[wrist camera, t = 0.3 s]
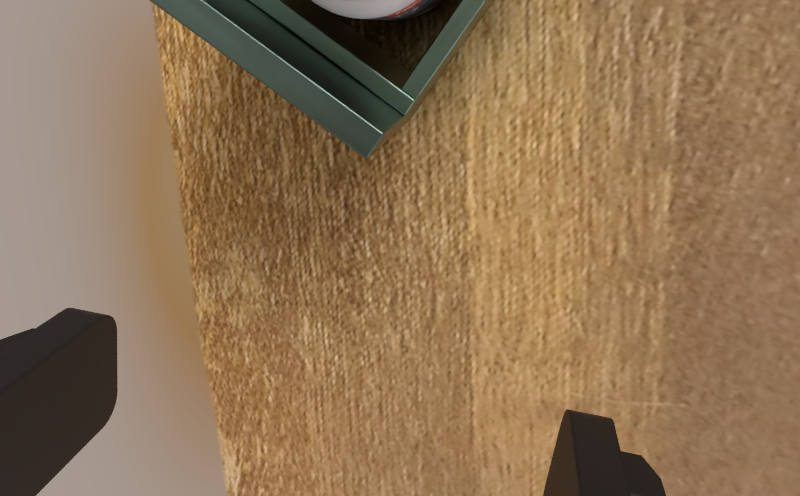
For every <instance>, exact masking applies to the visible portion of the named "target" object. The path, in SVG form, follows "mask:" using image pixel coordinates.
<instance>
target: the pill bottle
mask: <svg viewBox="0 0 800 496" xmlns="http://www.w3.org/2000/svg"><path fill="white" fill-rule="evenodd" d="M312 1H313V2H314V3H316V4H317V5H319V6H320V7H322V8H324V9H326V10H328V11H330V12H333V13H335V14H338V15H341V16H344V17H348V18H355V19H371V20H387V21H399V20H406V19H411V18H414V17H417V16H420V15H422V14H424V13H426V12H428V11H430V10H431V9H433V8H434V7H436V6H437V5H438V4H439V3H440V2H442V1H443V0H312Z"/></svg>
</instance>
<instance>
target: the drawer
mask: <svg viewBox="0 0 800 496" xmlns="http://www.w3.org/2000/svg"><path fill="white" fill-rule="evenodd" d="M150 1H152V2H153V3H154V4H156V5H157V6H158V7H160V8H161V9H162V10H164V11H165V12H167V13H168V14H169V15H171V16H172V17H173V18H175V19H176V20H177V21H179V22H180V23H182V24H183V25H184V26H186V27H187V28H188V29H190V30H191V31H192V32H194V33H195V34H197V35H198V36H199V37H201V38H202V39H203V40H205V41H206V42H207V43H209V44H210V45H211V46H213V47H214V48H216V49H217V50H218V51H220V52H221V53H222V54H224V55H225V56H226V57H228V58H229V59H231V60H232V61H233V62H235V63H236V64H237V65H239V66H240V67H241V68H243V69H244V70H246V71H247V72H248V73H250V74H251V75H252V76H254V77H255V78H256V79H258V80H259V81H261V82H262V83H263V84H265V85H266V86H267V87H269V88H270V89H271V90H273V91H274V92H276V93H277V94H278V95H280V96H281V97H282V98H284V99H285V100H286V101H288V102H289V103H291V104H292V105H293V106H295V107H296V108H297V109H299V110H300V111H301V112H303V113H304V114H306V115H307V116H308V117H310V118H311V119H312V120H314V121H315V122H316V123H318V124H319V125H321V126H322V127H323V128H325V129H326V130H327V131H329V132H330V133H331V134H333V135H334V136H336V137H337V138H338V139H340V140H341V141H342V142H344V143H345V144H346V145H348V146H349V147H351V148H352V149H353V150H355V151H356V152H357V153H359V154H360V155H361V156H363V157H364V158H366V159H367V158H369V157H370V156H371V155H372V154H373V153H374V152H375V151H376V150H377V149H378V148H379V147H381V146H382V145H383V144H384V143H385V142H386V141H387V140H388V139H389V138H390V137H391V136H392V135H394V134H395V133H396V132H397V131H398V130H399V129H400V128H401V127H402V126H403V125H404V124H405V123H406V122H408V121H409V120H410V119H411V117H412V116H413V114H414V113H415V112H416V110H417V109H418V107H419V106H420V104H421V103H422V101H423V100H424V99H425V97H426V96H427V94H428V93H429V92H430V90H431V88H432V87H433V86H434V85H435V83H436V82H437V80H438V79H439V77H440V76H441V75H442V73H443V72H444V70H445V69H446V68H447V66H448V65H449V63H450V62H451V60H452V59H453V58H454V56H455V55H456V53H457V52H458V51H459V49H460V48H461V46H462V45H463V43H464V42H465V41H466V39H467V38H468V36H469V35H470V34H471V32H472V31H473V29H474V28H475V26H476V25H477V24H478V22H479V21H480V19H481V18H482V17H483V15H484V14H485V12H486V11H487V9H488V8H489V7H490V5H491V4H492V2H493V1H494V0H461V1H460V3H459V4H458V6H457V7H456V9H455V10H454V11H453V13H452V14H451V16H450V17H449V19H448V20H447V22H446V23H445V25H444V26H443V28H442V29H441V30H440V32H439V33H438V35H437V36H436V38H435V39H434V41H433V42H432V44H431V45H430V46H429V48H428V49H427V51H426V52H425V54H424V55H423V57H422V58H421V60H420V61H419V62H418V64H417V65H416V67H415V68H414V70H413V71H412V73H411V72H410V71H409V70H407V69H406V68H405V67H403V66H402V65H401V64H399V63H398V62H397V61H395V60H394V59H393V58H391V57H390V56H389V55H387V54H386V53H385V52H383V51H382V50H381V49H379V48H378V47H377V46H375V45H374V44H373V43H371V42H370V41H369V40H367V39H366V38H365V37H363V36H362V35H361V34H359V33H358V32H357V31H355V30H354V29H352V28H351V27H350V26H348V25H347V24H346V23H344V22H343V21H342V20H340V19H339V18H338V17H336V16H335V15H334V14H332V13H331V12H330V11H328V10H326V9H324V8H322V7H320V6H319V5H317V4H316V3H314V2H313V1H312V0H150Z"/></svg>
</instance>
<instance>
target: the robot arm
mask: <svg viewBox="0 0 800 496" xmlns="http://www.w3.org/2000/svg"><path fill="white" fill-rule="evenodd" d="M116 399H117V327H116V323H115V320H114V319H113V317H111V316H109V315H104V314H99V313H94V312H89V311H84V310H79V309H75V308H67V309H65V310H63V311H62V312H60V313H58V314H57V315H55V316H54V317H53V318H51V319H49V320H48V321H46V322H45V323H43V324H42V325H40V326H39V327H37V328H36V329H30V330H27V331H24V332H21V333H18V334H15V335H12V336H10V337H7V338H4V339H1V340H0V496H36V495H37V494H38V493H39V492H40V491H41V490H42V489H43V488H44V487H45V486H46V485H47V484H48V483H49V481H50V480H52V478H54V477H55V476H56V474H57V473H59V471H60V470H61V469H62V468H63V467H64V466H65V465H66V464H67V463H68V462H69V461H70V460H71V459H72V458H73V457H74V456H75V455H76V454H77V453H78V452H79V451H80V450H81V449H82V448H83V447H84V446H85V445H86V444H87V443H88V442H89V441H90V440H91V439H92V438H93V437H94V436H95V435H96V434H97V433H98V432H99V431H100V430H101V429H102V428H103V427H104V426H105V424H106V423H107V421H108V420H109V418H110V416H111V414H112V412H113V409H114V406H115V403H116ZM543 496H666V494H665V491H664V488H663V484H662V481H661V478H660V477H659V476H658V475H657V474H656V473H655V471H654V470H653V469H652V468H651V467H650V465H649V464H648V463H647V462H646V461H645V459H644V458H643V457H642V456H641V455H636V454H632V453H627V452H622V451H620V447H619V443H618V438H617V434H616V430H615V426H614V422H613V420H612V419H611V418H607V417H602V416H598V415H593V414H588V413H583V412H578V411H573V410H566V411H565V413H564V416H563V419H562V422H561V426H560V430H559V434H558V438H557V441H556V445H555V449H554V453H553V457H552V461H551V465H550V469H549V473H548V477H547V481H546V485H545V490H544V495H543Z"/></svg>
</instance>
